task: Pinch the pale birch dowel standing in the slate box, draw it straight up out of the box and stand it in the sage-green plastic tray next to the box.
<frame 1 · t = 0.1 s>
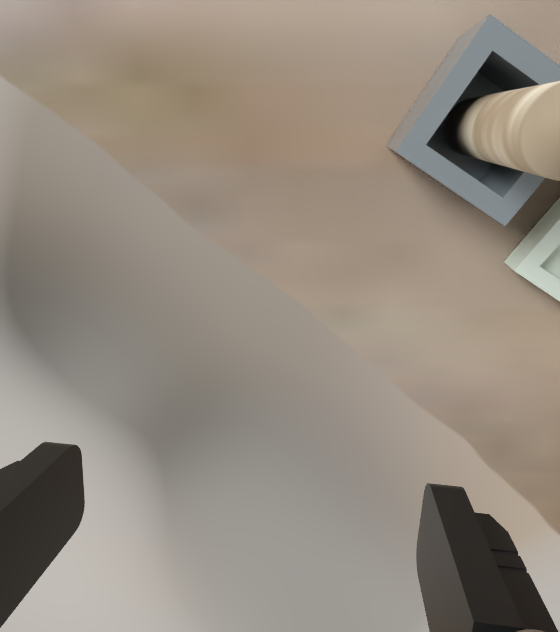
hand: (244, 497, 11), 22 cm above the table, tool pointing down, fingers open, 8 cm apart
dowel: (471, 126, 27), point 1 cm above the table, touching slate box
slate box: (467, 126, 28), on the table
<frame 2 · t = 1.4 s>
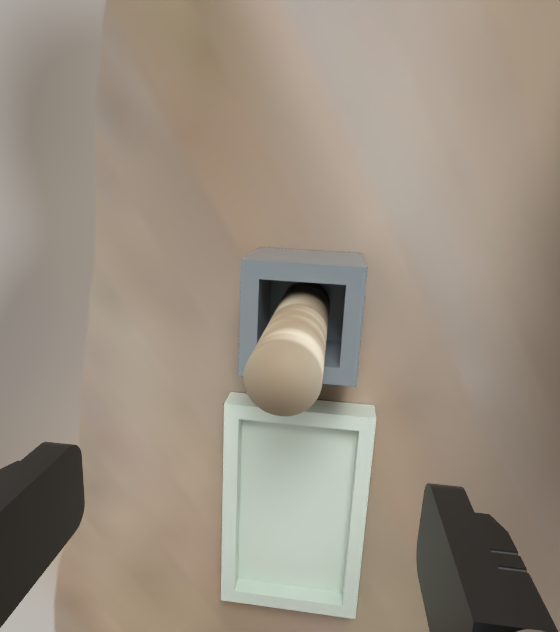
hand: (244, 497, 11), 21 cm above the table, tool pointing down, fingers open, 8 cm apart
sage tray: (295, 498, 35), on the table
dowel: (306, 303, 31), point 1 cm above the table, touching slate box
slate box: (307, 300, 32), on the table
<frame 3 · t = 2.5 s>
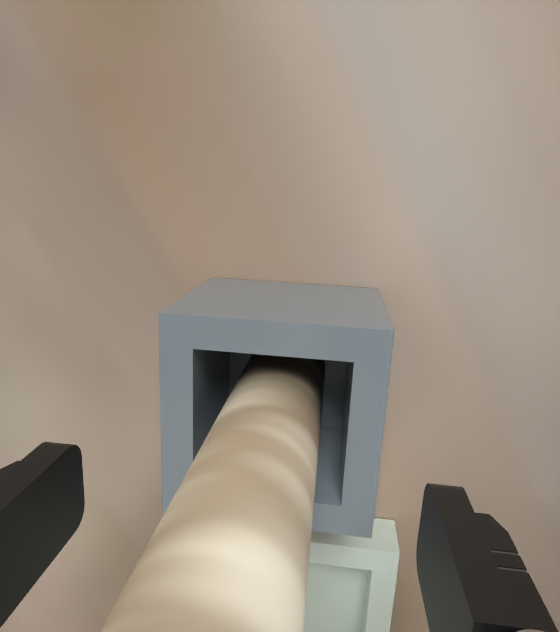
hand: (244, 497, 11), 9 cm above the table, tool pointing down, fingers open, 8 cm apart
dowel: (286, 369, 19), point 1 cm above the table, touching slate box
slate box: (289, 361, 20), on the table
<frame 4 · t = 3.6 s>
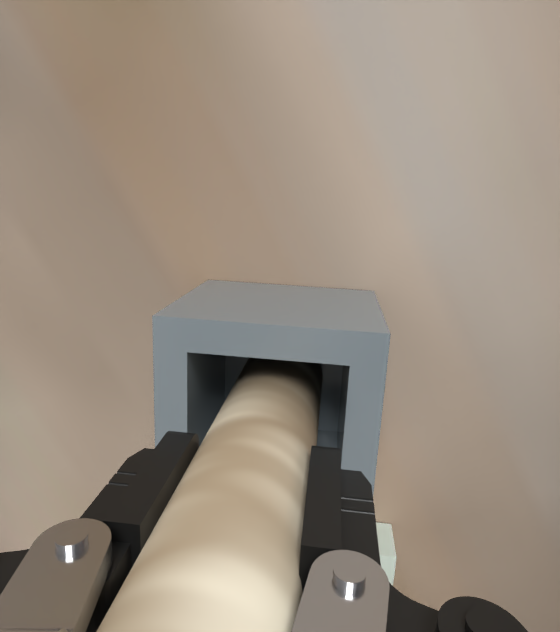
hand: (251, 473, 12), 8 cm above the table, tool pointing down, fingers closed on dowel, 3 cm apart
dowel: (283, 376, 18), point 1 cm above the table, touching gripper
slate box: (285, 363, 20), on the table
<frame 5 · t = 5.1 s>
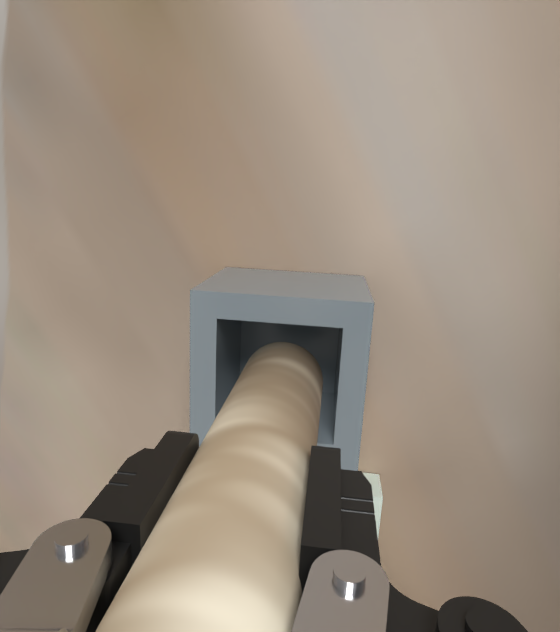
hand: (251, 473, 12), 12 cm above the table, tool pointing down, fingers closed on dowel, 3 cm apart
sage tray: (276, 589, 27), on the table
dowel: (282, 380, 18), point 6 cm above the table, touching gripper
slate box: (290, 337, 24), on the table
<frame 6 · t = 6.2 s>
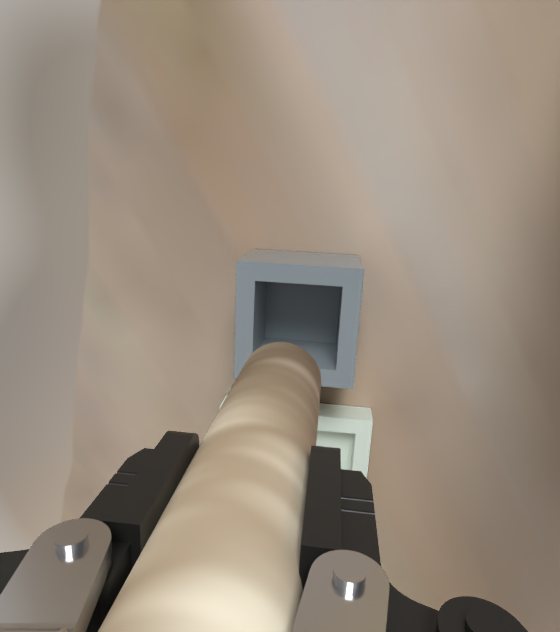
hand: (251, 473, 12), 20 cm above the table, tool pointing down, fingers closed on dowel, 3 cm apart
sage tray: (291, 502, 35), on the table
dowel: (281, 380, 18), point 14 cm above the table, touching gripper
slate box: (303, 302, 31), on the table
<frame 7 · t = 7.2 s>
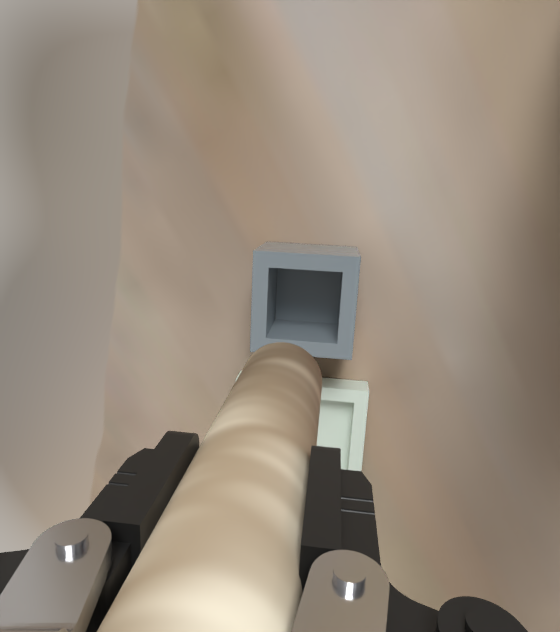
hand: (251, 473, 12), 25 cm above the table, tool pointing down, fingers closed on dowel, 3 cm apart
sage tray: (297, 466, 40), on the table
dowel: (282, 380, 18), point 19 cm above the table, touching gripper
slate box: (308, 288, 36), on the table
when the fingers open (9 cm above the table, at t = 11.7 s): dowel drops 3 cm, resting on sage tray.
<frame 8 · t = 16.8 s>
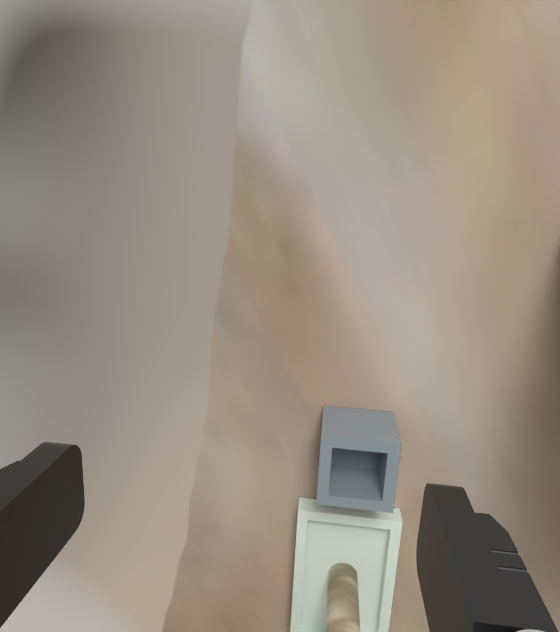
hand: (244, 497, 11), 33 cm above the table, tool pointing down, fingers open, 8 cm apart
sage tray: (342, 569, 50), on the table
dowel: (342, 575, 49), point 1 cm above the table, touching sage tray
slate box: (355, 440, 46), on the table
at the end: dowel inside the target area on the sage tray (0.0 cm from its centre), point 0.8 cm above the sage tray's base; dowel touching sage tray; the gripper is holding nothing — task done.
